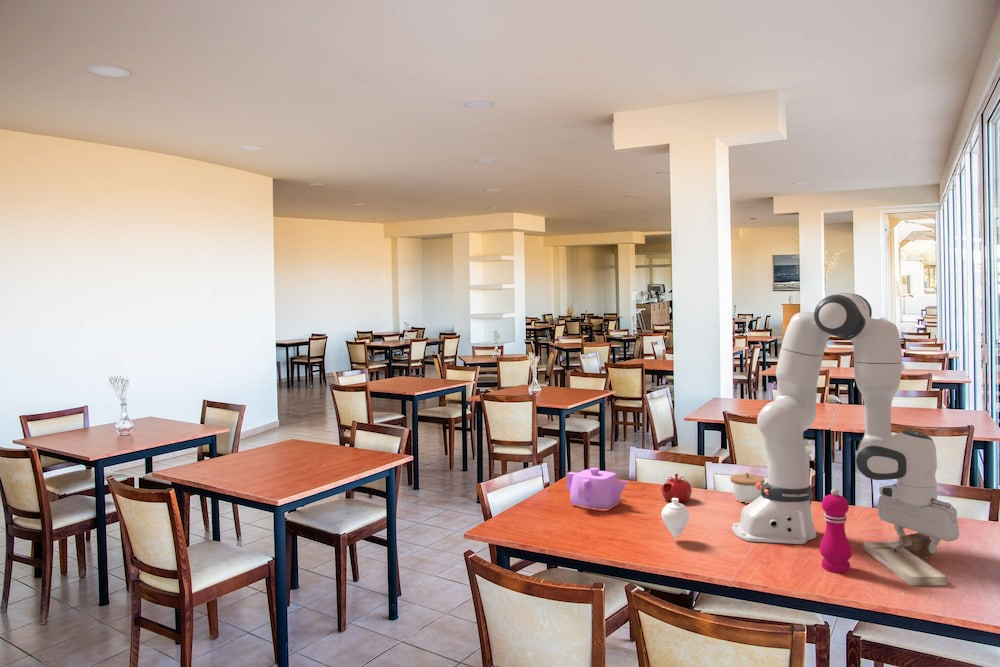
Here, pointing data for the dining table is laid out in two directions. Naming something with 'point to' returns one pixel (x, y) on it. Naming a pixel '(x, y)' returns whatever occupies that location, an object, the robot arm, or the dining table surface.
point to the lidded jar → (746, 486)
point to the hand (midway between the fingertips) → (917, 547)
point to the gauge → (914, 544)
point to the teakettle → (594, 488)
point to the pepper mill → (835, 534)
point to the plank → (905, 564)
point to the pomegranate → (676, 489)
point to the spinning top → (675, 517)
